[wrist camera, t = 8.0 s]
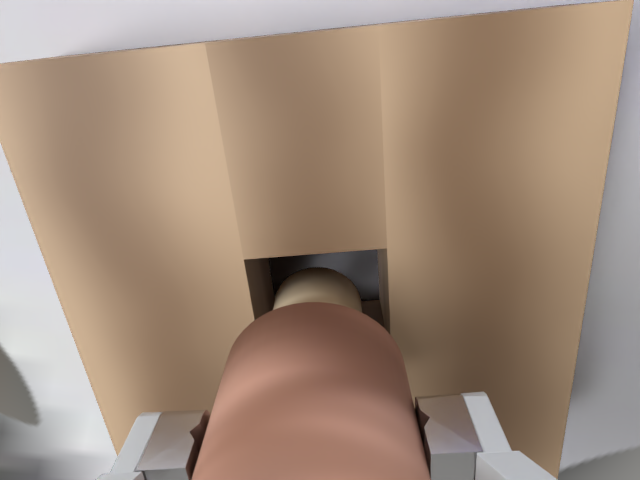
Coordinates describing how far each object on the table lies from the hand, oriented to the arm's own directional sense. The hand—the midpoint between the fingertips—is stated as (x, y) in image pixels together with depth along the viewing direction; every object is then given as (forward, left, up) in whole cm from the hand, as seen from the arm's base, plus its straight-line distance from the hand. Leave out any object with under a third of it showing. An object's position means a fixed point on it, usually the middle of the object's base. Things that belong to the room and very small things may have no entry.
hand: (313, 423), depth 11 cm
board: (0, 0, -8) cm, 8 cm away
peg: (0, 0, -5) cm, 5 cm away
